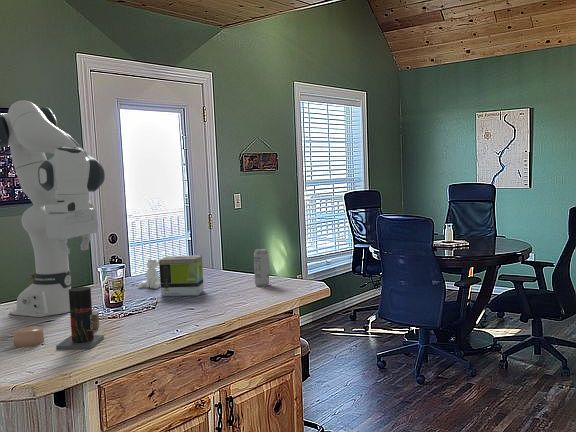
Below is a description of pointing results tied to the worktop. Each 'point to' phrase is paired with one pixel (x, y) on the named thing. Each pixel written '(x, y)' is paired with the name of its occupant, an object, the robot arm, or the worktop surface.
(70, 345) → the slate coaster
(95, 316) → the walnut block
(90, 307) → the deodorant
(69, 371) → the worktop surface
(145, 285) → the seated beast figurine
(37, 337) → the soap bar
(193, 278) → the tea box
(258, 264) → the energy drink can
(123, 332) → the worktop surface
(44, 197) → the robot arm
